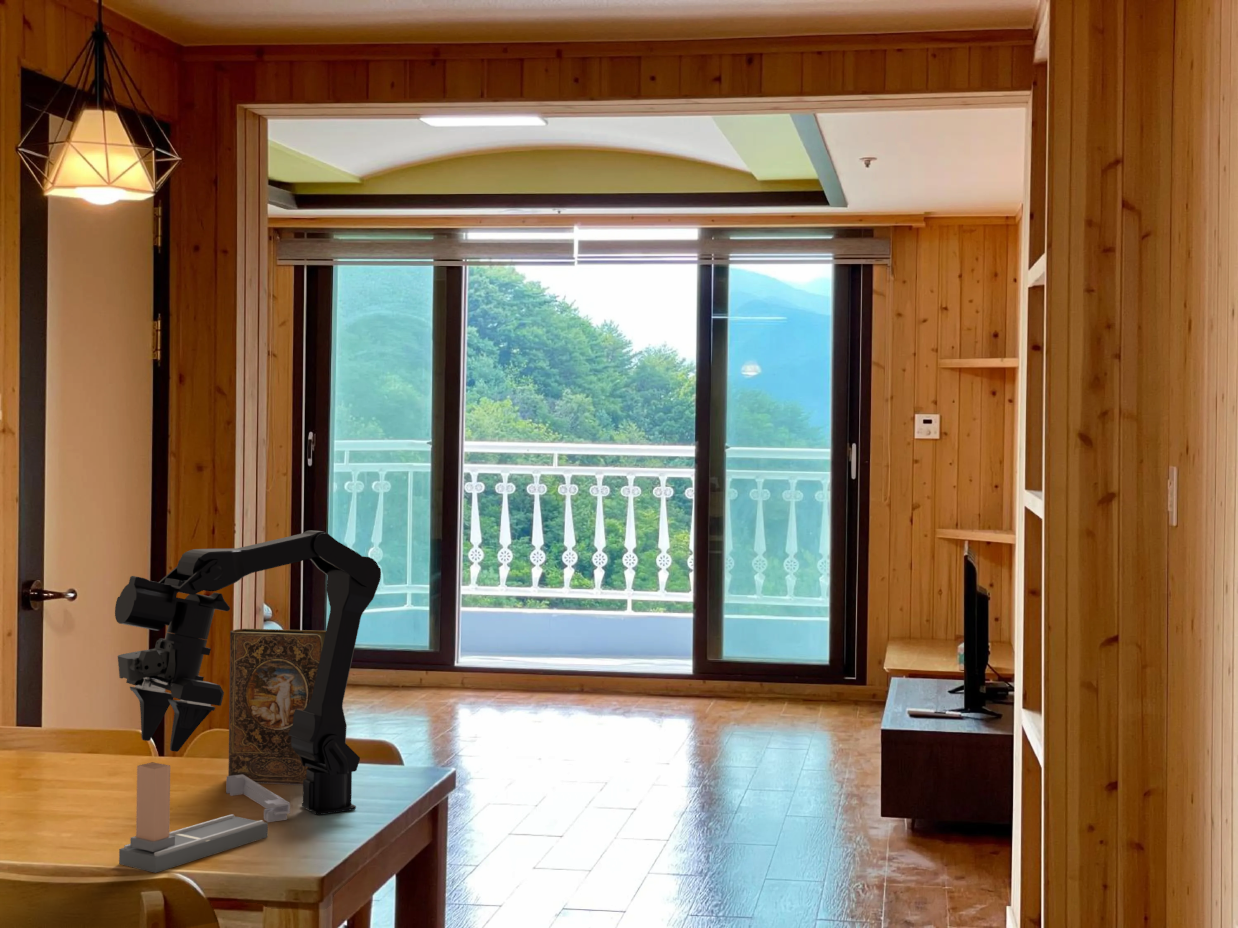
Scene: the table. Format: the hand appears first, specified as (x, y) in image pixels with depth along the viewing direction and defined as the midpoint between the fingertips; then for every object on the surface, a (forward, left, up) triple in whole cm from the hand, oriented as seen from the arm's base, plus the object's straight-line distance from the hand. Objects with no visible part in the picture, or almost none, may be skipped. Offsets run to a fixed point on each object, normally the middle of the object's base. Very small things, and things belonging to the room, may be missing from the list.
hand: (159, 745), depth 190 cm
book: (-27, -26, -14) cm, 40 cm away
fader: (+4, +10, -11) cm, 16 cm away
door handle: (-18, -11, -14) cm, 25 cm away
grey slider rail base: (-3, +7, -13) cm, 16 cm away
